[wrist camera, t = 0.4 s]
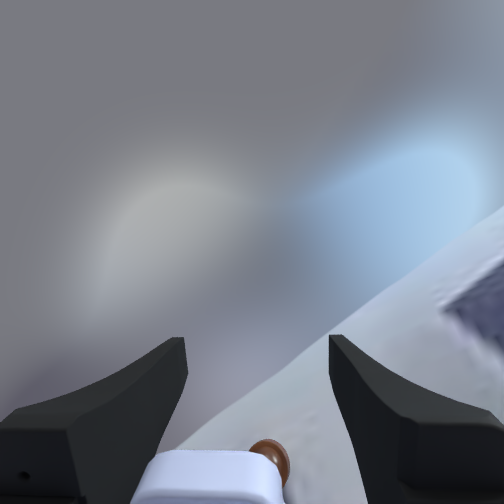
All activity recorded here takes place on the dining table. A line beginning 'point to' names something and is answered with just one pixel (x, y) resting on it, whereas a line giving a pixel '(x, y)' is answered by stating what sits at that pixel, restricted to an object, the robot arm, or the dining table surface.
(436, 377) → the dining table surface
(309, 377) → the dining table surface
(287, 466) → the mushroom
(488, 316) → the dining table surface
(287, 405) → the dining table surface
